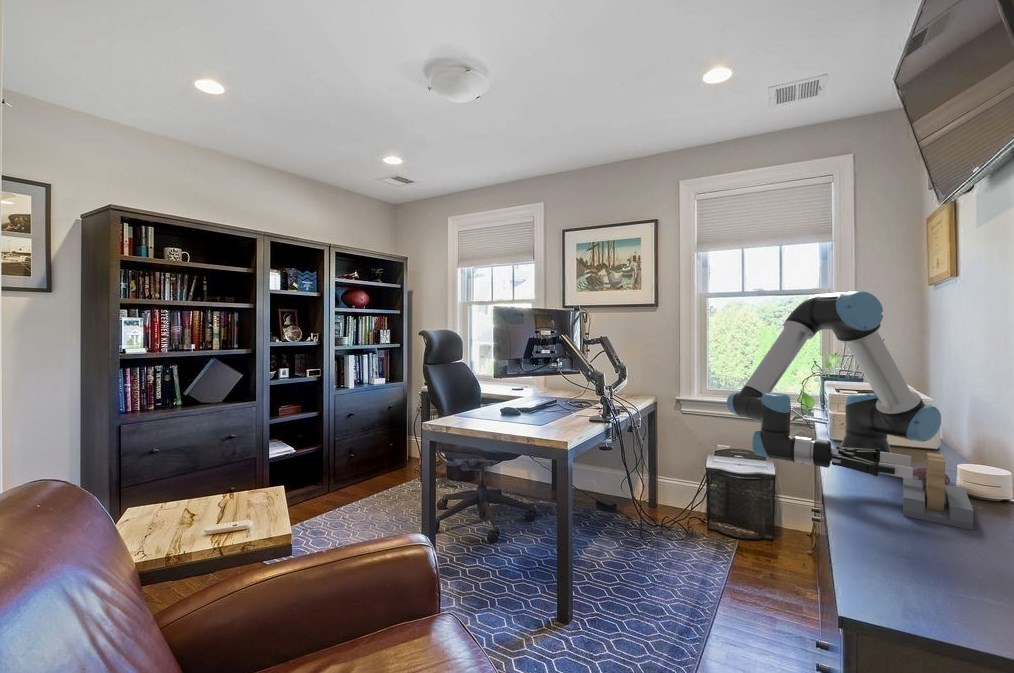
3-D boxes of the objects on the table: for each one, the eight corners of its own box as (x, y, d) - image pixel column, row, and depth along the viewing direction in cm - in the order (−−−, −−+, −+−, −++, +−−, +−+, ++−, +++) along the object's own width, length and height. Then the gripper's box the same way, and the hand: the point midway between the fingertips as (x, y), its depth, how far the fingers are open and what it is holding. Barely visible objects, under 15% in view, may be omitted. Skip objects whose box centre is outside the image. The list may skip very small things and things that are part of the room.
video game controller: (904, 490, 136) (908, 471, 133) (900, 479, 139) (904, 461, 136) (949, 496, 131) (954, 477, 128) (944, 484, 135) (949, 466, 132)
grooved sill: (903, 493, 128) (903, 477, 128) (963, 504, 120) (964, 487, 120) (903, 515, 113) (903, 497, 113) (972, 530, 105) (973, 510, 105)
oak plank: (925, 497, 121) (927, 452, 121) (941, 500, 119) (942, 454, 119) (927, 507, 114) (928, 459, 114) (943, 510, 112) (945, 461, 112)
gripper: (818, 455, 142) (910, 470, 129) (806, 475, 123) (912, 494, 110) (819, 431, 142) (911, 443, 129) (807, 447, 123) (913, 463, 110)
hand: (912, 467), depth 119 cm, fingers open, 13 cm apart
